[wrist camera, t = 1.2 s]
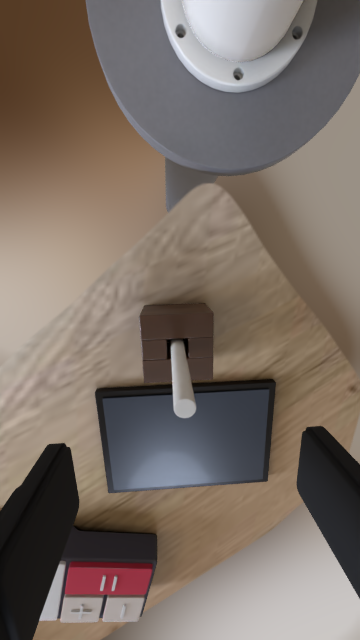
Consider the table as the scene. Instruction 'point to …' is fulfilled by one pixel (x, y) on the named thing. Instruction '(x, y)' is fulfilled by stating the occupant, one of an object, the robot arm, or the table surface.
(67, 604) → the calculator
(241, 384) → the tablet
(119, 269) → the table surface
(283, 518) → the table surface
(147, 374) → the pen stand
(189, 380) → the stylus
